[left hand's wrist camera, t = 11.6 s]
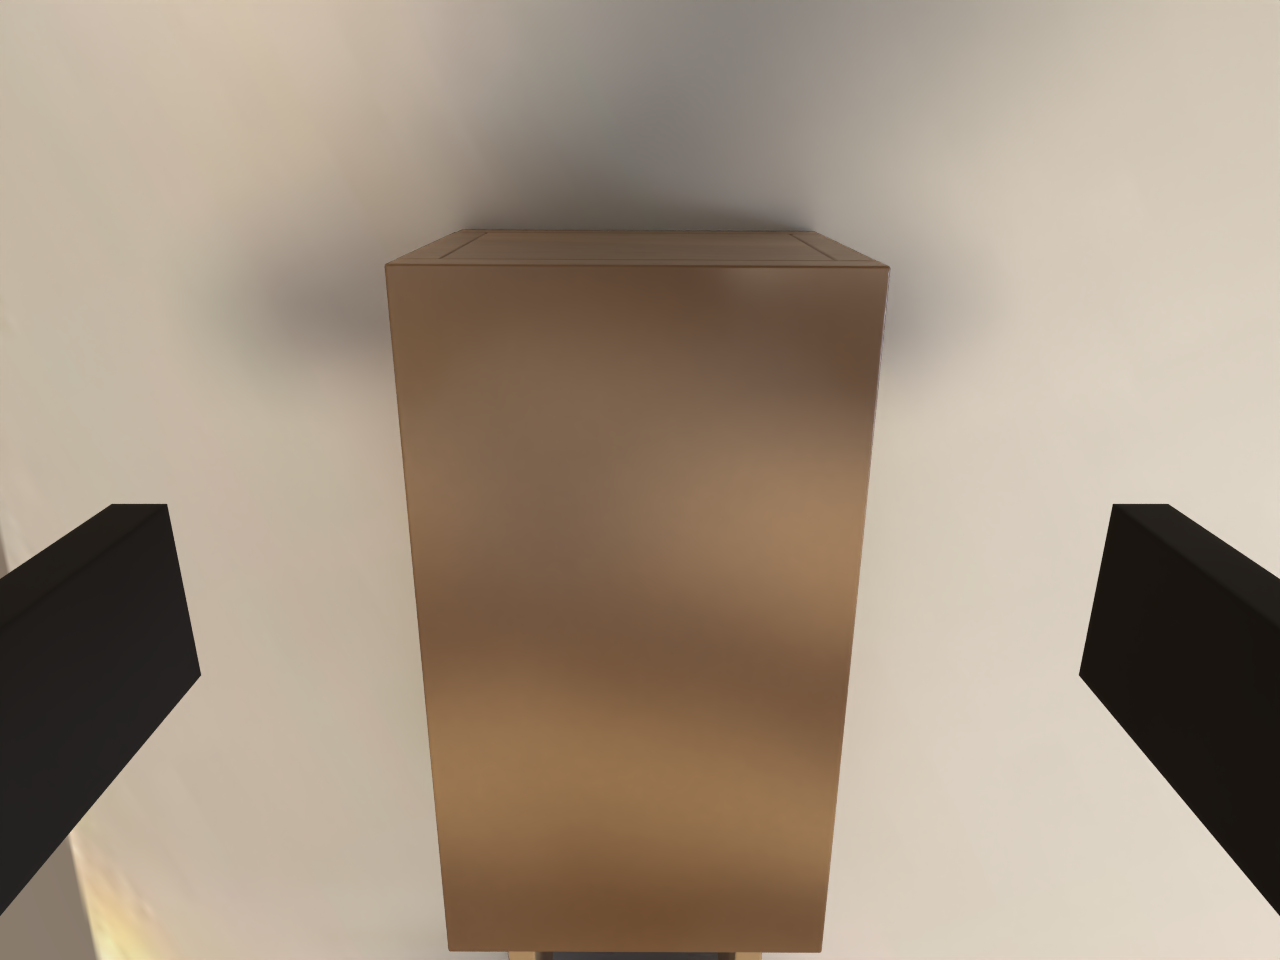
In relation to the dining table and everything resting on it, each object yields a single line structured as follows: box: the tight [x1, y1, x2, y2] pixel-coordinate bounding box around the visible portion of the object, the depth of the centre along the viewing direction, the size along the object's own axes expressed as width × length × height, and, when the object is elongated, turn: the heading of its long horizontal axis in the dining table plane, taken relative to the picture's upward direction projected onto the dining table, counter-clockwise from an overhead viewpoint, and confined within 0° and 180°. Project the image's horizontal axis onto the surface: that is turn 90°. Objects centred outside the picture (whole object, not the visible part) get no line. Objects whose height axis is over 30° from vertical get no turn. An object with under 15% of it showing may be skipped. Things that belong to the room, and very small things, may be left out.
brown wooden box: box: [385, 230, 890, 953], centre depth 25 cm, size 19×10×8 cm, turn 0°
